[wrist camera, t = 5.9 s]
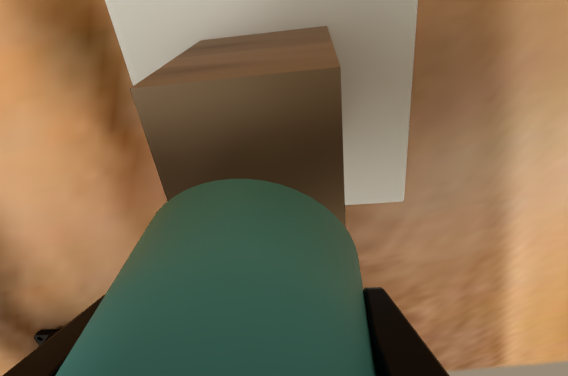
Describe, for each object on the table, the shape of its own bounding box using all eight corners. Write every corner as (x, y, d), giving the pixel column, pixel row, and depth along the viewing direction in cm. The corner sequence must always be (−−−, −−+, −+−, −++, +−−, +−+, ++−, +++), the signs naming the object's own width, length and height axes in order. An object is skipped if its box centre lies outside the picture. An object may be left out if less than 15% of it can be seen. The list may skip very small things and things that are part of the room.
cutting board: (400, 192, 22) (403, 201, 21) (180, 206, 24) (175, 215, 23) (418, -94, 15) (424, -98, 14) (100, -48, 16) (89, -48, 16)
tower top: (338, 182, 16) (345, 239, 13) (208, 191, 17) (183, 248, 13) (331, 41, 13) (340, 66, 10) (174, 58, 14) (129, 88, 10)
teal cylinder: (358, 337, 10) (390, 593, 6) (175, 338, 11) (90, 573, 7) (359, 171, 8) (420, 440, 3) (111, 185, 8) (-106, 428, 4)
